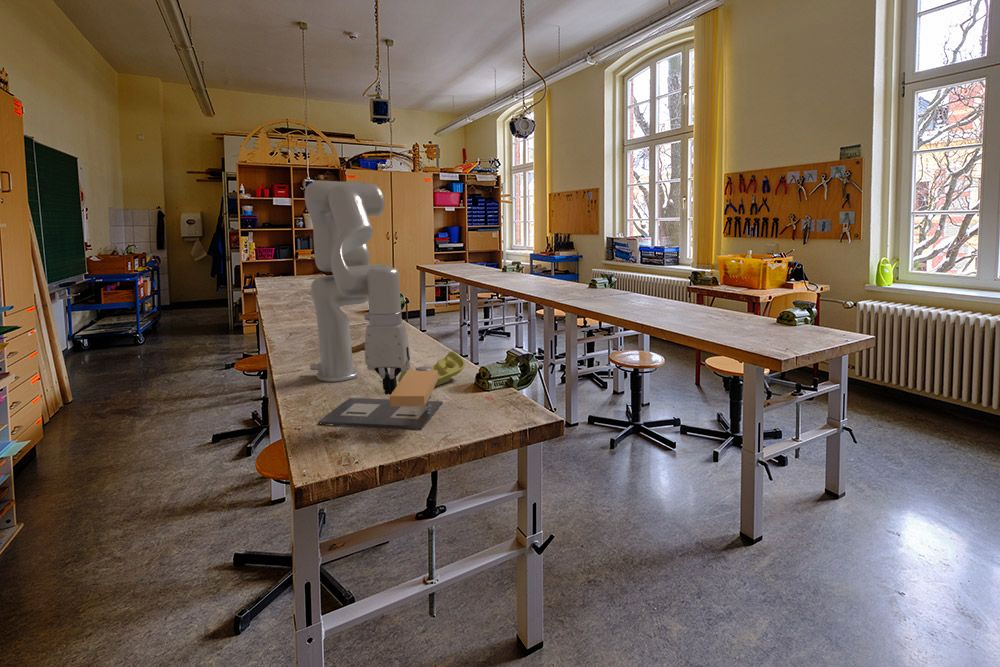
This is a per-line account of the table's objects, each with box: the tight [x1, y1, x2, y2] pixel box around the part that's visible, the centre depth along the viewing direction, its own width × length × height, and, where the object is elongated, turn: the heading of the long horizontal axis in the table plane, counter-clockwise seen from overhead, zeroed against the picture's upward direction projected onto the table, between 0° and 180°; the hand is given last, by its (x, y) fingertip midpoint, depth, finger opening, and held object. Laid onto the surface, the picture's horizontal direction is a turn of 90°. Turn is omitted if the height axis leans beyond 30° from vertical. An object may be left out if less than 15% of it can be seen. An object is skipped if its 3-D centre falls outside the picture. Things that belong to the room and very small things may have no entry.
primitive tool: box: [351, 341, 365, 354], centre depth 209 cm, size 19×6×4 cm, turn 145°
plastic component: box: [397, 350, 466, 388], centre depth 172 cm, size 20×7×10 cm
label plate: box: [317, 395, 443, 430], centre depth 146 cm, size 26×24×6 cm
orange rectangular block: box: [389, 366, 438, 407], centre depth 144 cm, size 8×26×2 cm, turn 178°
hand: (390, 392), depth 140 cm, fingers closed
